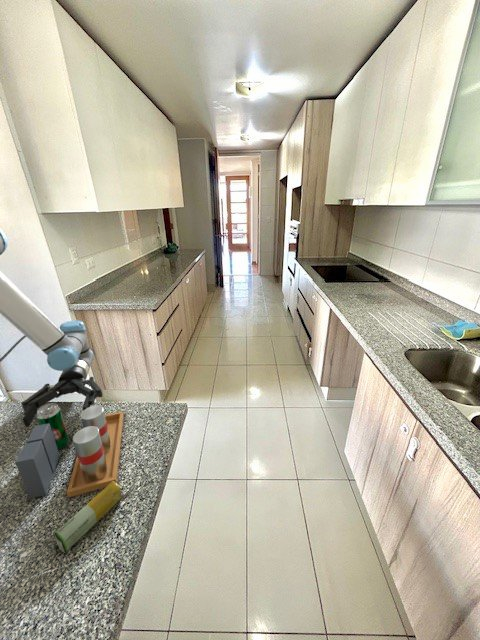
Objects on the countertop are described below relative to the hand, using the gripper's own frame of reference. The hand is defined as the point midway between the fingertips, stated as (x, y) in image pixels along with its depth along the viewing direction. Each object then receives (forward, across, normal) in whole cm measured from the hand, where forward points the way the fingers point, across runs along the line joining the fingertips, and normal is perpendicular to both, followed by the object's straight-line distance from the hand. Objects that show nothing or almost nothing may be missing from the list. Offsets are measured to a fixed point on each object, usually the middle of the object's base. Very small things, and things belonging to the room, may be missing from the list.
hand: (56, 417), depth 70 cm
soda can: (+3, 0, -7) cm, 8 cm away
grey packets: (+13, 0, -7) cm, 14 cm away
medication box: (+27, -12, -7) cm, 30 cm away
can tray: (+8, -11, -7) cm, 15 cm away
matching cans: (+12, -11, -6) cm, 17 cm away
